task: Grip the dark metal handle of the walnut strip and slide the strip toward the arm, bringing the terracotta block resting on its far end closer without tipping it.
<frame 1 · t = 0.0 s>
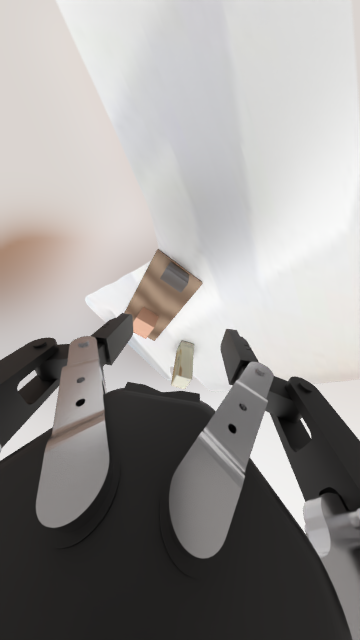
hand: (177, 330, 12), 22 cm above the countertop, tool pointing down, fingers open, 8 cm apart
terracotta block: (147, 317, 38), point 1 cm above the countertop, touching walnut strip
skincare box: (184, 347, 46), on the countertop
walnut strip: (153, 309, 34), point 3 cm above the countertop, slide at 0.0 cm, touching terracotta block
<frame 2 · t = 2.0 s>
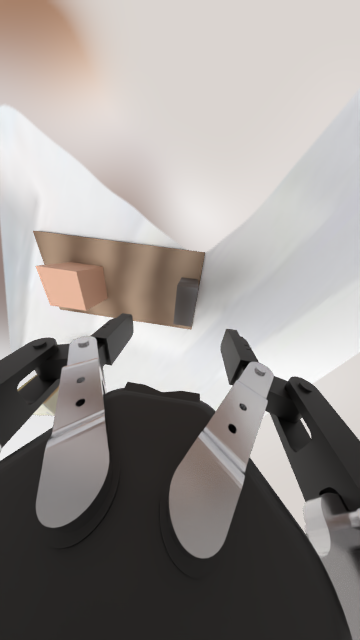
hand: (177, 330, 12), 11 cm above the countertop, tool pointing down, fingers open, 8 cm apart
terracotta block: (90, 281, 21), point 1 cm above the countertop, touching walnut strip
skincare box: (91, 350, 30), on the countertop
walnut strip: (113, 289, 19), point 3 cm above the countertop, slide at 0.0 cm, touching terracotta block
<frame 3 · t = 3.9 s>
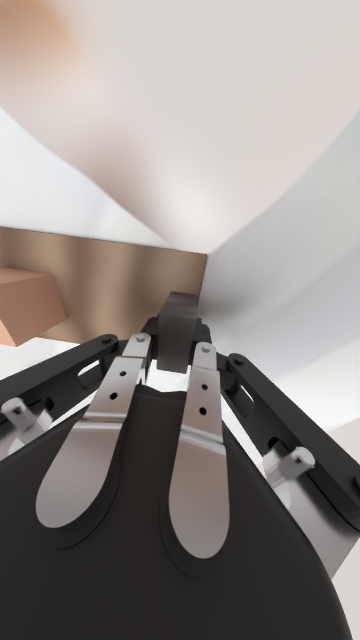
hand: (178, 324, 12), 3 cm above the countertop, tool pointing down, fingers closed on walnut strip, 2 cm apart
terracotta block: (38, 295, 14), point 1 cm above the countertop, touching walnut strip
walnut strip: (66, 309, 12), point 3 cm above the countertop, slide at 0.0 cm, touching gripper, terracotta block
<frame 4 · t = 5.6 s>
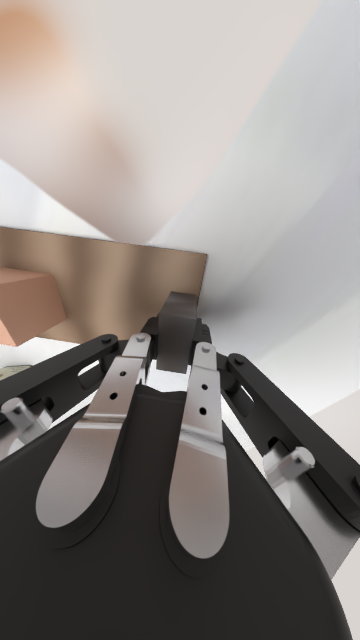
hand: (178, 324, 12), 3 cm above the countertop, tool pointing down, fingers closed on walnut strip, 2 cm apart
terracotta block: (38, 295, 14), point 1 cm above the countertop, touching walnut strip
skincare box: (26, 373, 23), on the countertop
walnut strip: (66, 309, 12), point 3 cm above the countertop, slide at 5.8 cm, touching gripper, terracotta block
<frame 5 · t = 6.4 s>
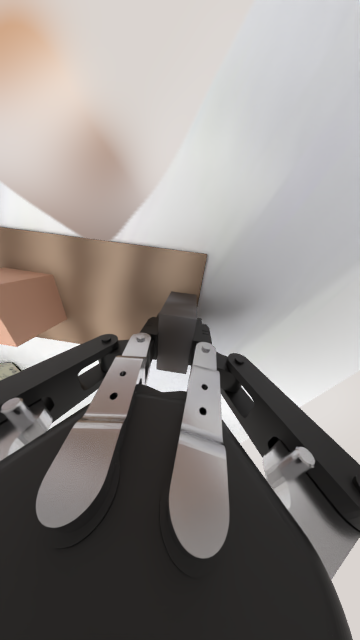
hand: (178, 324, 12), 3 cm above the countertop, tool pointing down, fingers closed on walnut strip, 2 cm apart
terracotta block: (38, 295, 14), point 1 cm above the countertop, touching walnut strip
skincare box: (9, 371, 23), on the countertop
walnut strip: (66, 309, 12), point 3 cm above the countertop, slide at 8.9 cm, touching gripper, terracotta block
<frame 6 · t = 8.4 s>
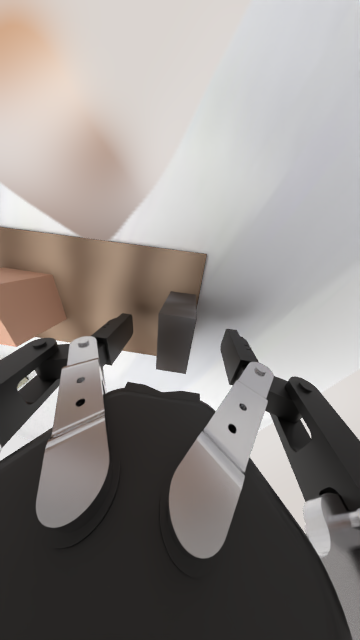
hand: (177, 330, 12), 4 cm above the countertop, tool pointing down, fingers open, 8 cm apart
terracotta block: (37, 295, 14), point 1 cm above the countertop, touching walnut strip
walnut strip: (66, 309, 12), point 3 cm above the countertop, slide at 9.0 cm, touching terracotta block
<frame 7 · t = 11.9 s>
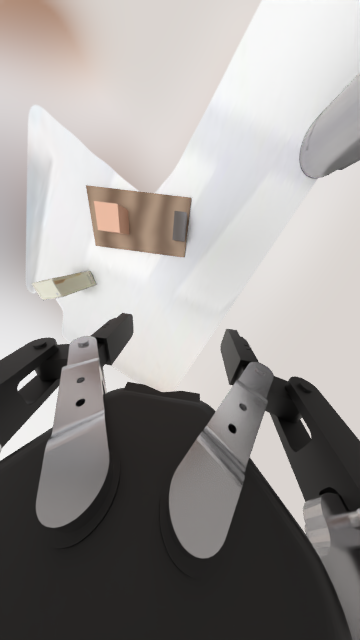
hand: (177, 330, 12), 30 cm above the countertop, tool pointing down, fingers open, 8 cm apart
terracotta block: (118, 221, 33), point 1 cm above the countertop, touching walnut strip
skincare box: (85, 279, 42), on the countertop
walnut strip: (135, 222, 31), point 3 cm above the countertop, slide at 9.0 cm, touching terracotta block
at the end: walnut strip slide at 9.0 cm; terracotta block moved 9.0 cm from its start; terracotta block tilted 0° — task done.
